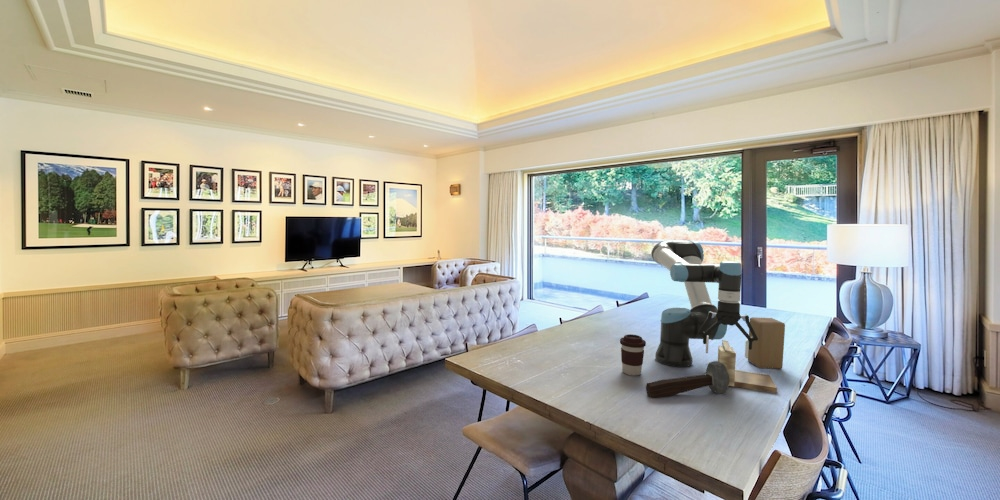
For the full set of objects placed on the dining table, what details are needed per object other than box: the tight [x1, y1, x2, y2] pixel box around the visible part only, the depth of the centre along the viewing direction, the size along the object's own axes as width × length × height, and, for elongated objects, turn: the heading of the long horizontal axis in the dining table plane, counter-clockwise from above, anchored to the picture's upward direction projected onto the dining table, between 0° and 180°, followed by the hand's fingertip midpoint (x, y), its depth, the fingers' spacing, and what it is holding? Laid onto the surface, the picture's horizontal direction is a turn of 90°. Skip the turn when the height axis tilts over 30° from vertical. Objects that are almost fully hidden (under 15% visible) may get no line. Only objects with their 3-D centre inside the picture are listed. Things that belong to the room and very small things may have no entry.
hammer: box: [645, 360, 730, 399], centre depth 144 cm, size 5×11×30 cm
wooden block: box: [747, 316, 786, 370], centre depth 175 cm, size 10×10×20 cm
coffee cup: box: [619, 333, 647, 377], centre depth 164 cm, size 10×10×15 cm
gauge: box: [717, 339, 737, 387], centre depth 157 cm, size 5×14×13 cm, turn 155°
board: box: [733, 369, 778, 394], centre depth 156 cm, size 20×14×2 cm
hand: (726, 354), depth 158 cm, fingers open, 13 cm apart
